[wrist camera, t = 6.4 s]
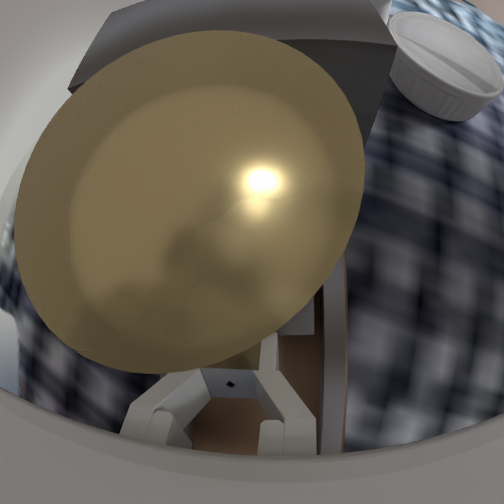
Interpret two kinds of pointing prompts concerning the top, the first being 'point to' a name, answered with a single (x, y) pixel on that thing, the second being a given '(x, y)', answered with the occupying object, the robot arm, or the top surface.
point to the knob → (189, 202)
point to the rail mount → (365, 109)
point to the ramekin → (442, 67)
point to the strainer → (382, 8)
